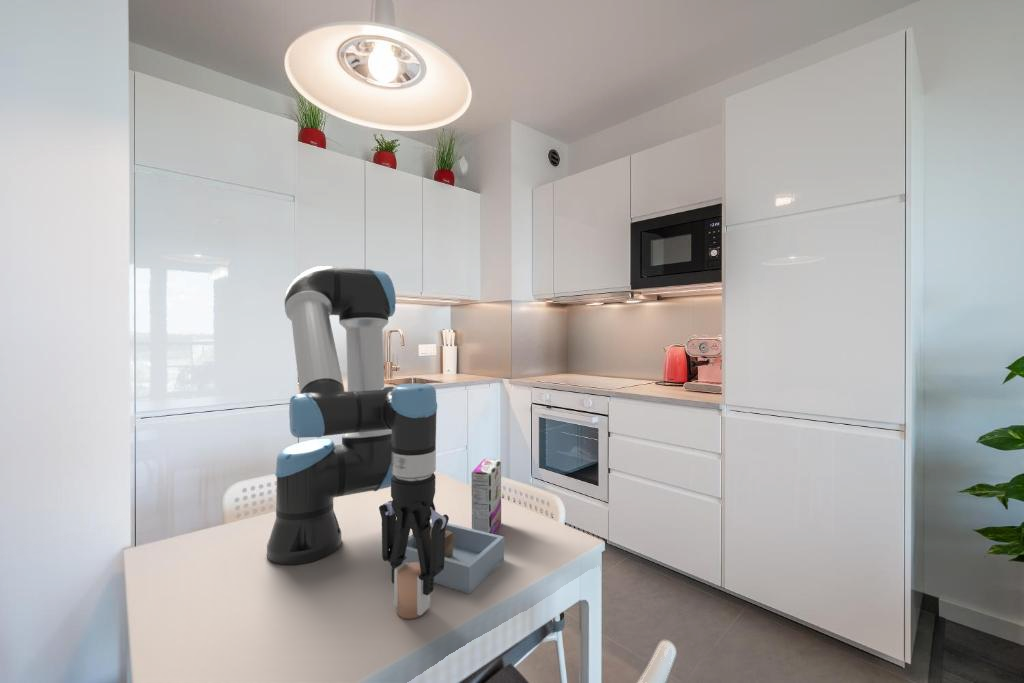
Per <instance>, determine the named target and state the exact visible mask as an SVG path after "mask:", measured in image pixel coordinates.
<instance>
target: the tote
mask: <svg viewBox="0 0 1024 683" xmlns="http://www.w3.org/2000/svg"><path fill="white" fill-rule="evenodd" d="M431 524H432V522H430V525H431ZM431 529H432V527H431ZM445 531H449V532H453V556H451V557H450V558H446V557H445V559H444V569H443V570H442V571H441V572H440V573H439V574H437V575H436V576H435V577H434V584H437V585H440V586H444V587H446V588H450V589H452V590H456V591H459V592H462V593H466V594H468V595H470V594H471V593H472V592H473V591H474V590H475V589H476V588H477V587H478V586H479V585H480V584H481V583H482V582H483V581H484V580H486V578H487V577H488V576H489V575H491V573H492V572H493V571H494V570H495V569H496V568H497V567H498V566H499V565H501V563H503V561H505V536H502V535H499V534H496V533H495V534H491V533H487V532H483V531H479V530H474V529H472V528H469V527H465V526H461V525H457V524H453V523H449V522H448V523H447V526H446V529H445ZM405 556H406V557H407V558H406V557H405V558H406V559H405V560H404V561H402V563H404V562H407V563H411V562H419V557H418V551H417V544H416V538H415V537H413V534H411V535H409V538H408V543H407V548H406V553H405Z"/></svg>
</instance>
